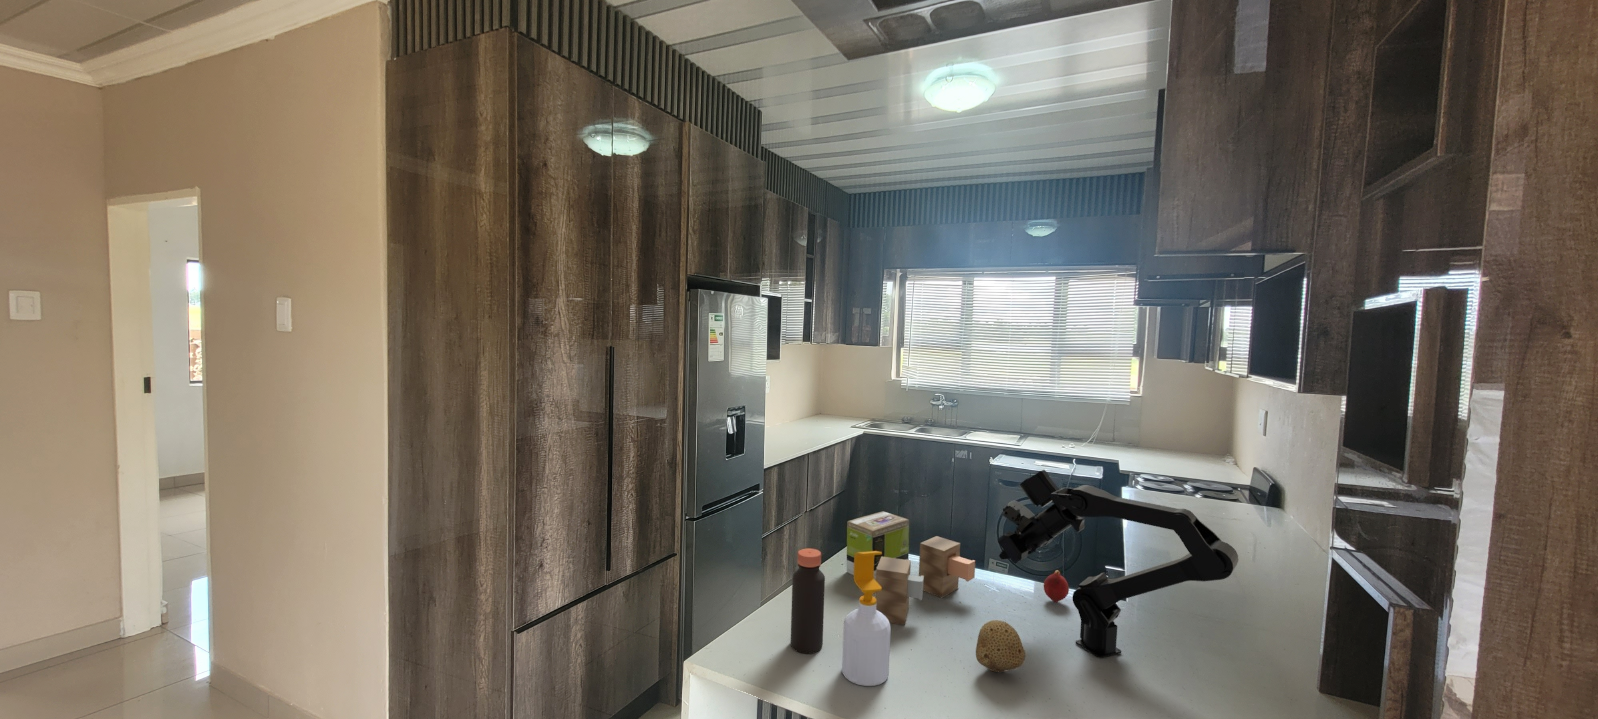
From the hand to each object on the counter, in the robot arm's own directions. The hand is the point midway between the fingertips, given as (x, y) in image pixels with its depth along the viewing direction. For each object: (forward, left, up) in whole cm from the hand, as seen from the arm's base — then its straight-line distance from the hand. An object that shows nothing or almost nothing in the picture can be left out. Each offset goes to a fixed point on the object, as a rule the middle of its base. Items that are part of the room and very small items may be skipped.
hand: (1000, 557), depth 143 cm
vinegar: (0, +50, -13) cm, 52 cm away
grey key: (+5, +23, -8) cm, 25 cm away
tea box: (+29, +17, -14) cm, 36 cm away
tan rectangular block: (+10, +4, -8) cm, 14 cm away
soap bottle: (-13, +43, -13) cm, 47 cm away
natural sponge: (-21, +17, -13) cm, 30 cm away
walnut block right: (+15, +7, -13) cm, 21 cm away
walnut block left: (+7, +25, -13) cm, 29 cm away
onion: (-1, -17, -13) cm, 22 cm away
